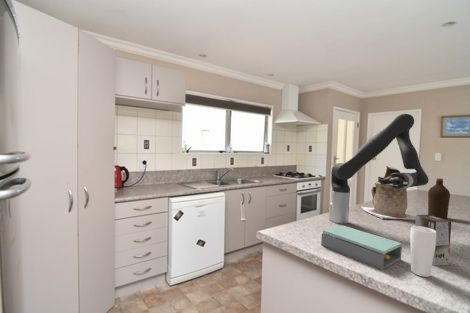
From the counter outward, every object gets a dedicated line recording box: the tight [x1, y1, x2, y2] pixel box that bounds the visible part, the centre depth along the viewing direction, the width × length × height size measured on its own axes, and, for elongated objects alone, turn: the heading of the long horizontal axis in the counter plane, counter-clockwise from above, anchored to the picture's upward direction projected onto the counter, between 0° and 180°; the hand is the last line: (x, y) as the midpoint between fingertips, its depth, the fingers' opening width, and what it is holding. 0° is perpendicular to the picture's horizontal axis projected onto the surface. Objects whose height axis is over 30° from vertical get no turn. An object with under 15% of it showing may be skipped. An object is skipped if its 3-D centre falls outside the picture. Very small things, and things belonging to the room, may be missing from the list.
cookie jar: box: [360, 165, 416, 222], centre depth 155 cm, size 25×25×32 cm
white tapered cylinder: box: [409, 225, 436, 278], centre depth 79 cm, size 7×7×15 cm
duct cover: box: [322, 224, 403, 254], centre depth 95 cm, size 24×14×1 cm, turn 34°
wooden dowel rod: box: [336, 237, 390, 260], centre depth 95 cm, size 21×2×2 cm, turn 34°
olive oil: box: [427, 177, 451, 220], centre depth 152 cm, size 11×11×25 cm
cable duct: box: [320, 232, 403, 271], centre depth 95 cm, size 24×15×5 cm, turn 34°
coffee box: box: [415, 214, 452, 266], centre depth 90 cm, size 9×6×16 cm
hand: (382, 181), depth 104 cm, fingers closed
